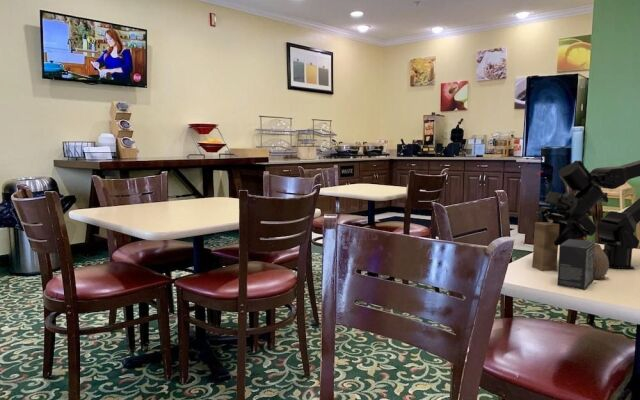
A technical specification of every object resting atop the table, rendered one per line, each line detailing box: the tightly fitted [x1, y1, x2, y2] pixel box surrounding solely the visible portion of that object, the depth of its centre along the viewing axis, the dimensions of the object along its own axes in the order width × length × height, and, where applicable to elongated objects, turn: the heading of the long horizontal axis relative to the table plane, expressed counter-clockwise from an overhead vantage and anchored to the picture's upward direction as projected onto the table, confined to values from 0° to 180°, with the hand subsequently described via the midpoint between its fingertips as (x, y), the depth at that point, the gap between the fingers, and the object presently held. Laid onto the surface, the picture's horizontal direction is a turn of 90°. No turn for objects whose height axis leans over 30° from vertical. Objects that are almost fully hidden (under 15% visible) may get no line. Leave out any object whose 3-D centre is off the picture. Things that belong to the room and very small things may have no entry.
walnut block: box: [531, 221, 560, 272], centre depth 131 cm, size 4×4×13 cm
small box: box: [557, 239, 596, 291], centre depth 117 cm, size 11×6×10 cm, turn 141°
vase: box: [593, 243, 610, 280], centre depth 123 cm, size 7×7×9 cm
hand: (544, 241), depth 130 cm, fingers open, 9 cm apart
